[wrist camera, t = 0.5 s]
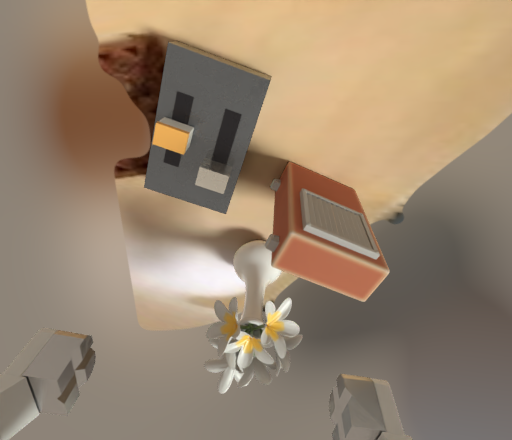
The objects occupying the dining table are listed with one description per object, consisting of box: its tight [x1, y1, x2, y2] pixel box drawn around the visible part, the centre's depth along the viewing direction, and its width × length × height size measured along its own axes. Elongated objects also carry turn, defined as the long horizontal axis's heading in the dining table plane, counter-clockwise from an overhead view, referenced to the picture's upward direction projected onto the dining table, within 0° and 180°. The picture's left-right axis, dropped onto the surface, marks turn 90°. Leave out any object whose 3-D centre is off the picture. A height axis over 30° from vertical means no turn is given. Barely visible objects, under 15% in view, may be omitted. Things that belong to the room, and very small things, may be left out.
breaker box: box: [144, 41, 271, 214], centre depth 48 cm, size 22×14×8 cm, turn 161°
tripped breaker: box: [152, 117, 194, 155], centre depth 46 cm, size 3×4×4 cm
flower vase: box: [204, 240, 302, 393], centre depth 53 cm, size 13×18×25 cm
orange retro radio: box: [265, 162, 390, 302], centre depth 46 cm, size 21×7×15 cm
